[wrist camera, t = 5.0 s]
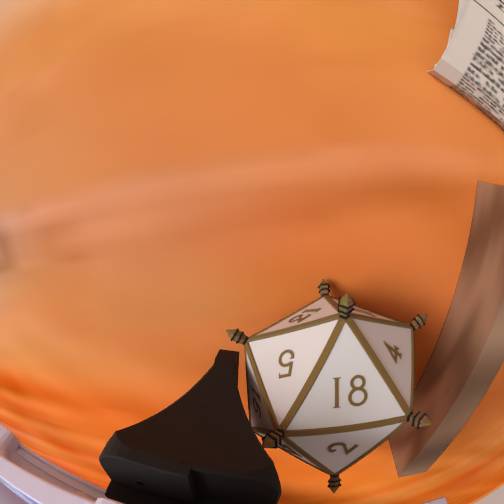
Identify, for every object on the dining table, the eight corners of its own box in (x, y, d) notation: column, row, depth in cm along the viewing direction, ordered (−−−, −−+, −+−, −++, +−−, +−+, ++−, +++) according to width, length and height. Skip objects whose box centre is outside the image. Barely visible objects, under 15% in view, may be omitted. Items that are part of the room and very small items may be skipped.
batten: (413, 434, 17) (425, 471, 13) (388, 438, 17) (398, 477, 13) (505, 189, 11) (552, 202, 7) (477, 180, 11) (527, 191, 7)
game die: (332, 272, 17) (490, 273, 8) (332, 397, 17) (459, 451, 8) (186, 286, 13) (330, 327, 4) (203, 437, 13) (307, 568, 4)
